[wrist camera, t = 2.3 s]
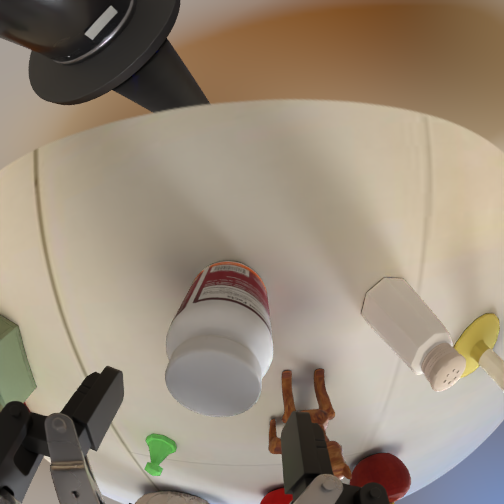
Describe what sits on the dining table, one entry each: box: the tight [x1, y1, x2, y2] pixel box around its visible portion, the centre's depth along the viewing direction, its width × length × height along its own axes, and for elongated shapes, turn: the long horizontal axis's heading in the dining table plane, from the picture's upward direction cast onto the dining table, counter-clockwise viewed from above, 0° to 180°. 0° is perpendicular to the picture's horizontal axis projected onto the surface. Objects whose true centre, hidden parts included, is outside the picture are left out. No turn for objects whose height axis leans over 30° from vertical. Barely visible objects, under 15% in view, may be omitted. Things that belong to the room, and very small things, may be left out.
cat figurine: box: [269, 369, 352, 480], centre depth 19 cm, size 18×7×14 cm, turn 1°
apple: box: [350, 453, 411, 504], centre depth 25 cm, size 10×10×10 cm
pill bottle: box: [165, 261, 273, 417], centre depth 17 cm, size 6×6×11 cm
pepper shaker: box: [361, 278, 466, 391], centre depth 17 cm, size 5×5×11 cm
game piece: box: [144, 434, 177, 476], centre depth 26 cm, size 4×4×6 cm
